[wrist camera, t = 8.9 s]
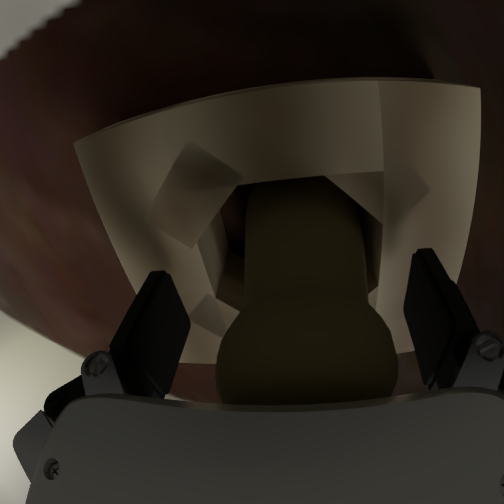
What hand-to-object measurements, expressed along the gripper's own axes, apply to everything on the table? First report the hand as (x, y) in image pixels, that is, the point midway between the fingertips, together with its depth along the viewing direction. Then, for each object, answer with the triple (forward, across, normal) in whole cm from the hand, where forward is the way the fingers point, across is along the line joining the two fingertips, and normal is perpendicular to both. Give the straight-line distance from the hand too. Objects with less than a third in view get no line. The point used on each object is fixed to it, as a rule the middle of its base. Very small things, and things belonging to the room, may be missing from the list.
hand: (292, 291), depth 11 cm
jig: (+6, 0, 0) cm, 6 cm away
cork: (+6, 0, 0) cm, 6 cm away
